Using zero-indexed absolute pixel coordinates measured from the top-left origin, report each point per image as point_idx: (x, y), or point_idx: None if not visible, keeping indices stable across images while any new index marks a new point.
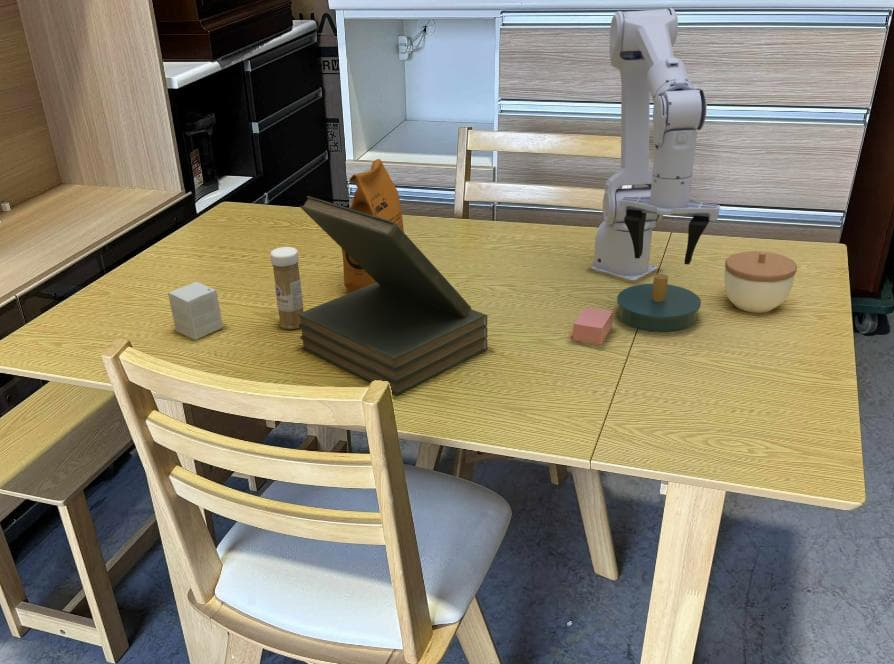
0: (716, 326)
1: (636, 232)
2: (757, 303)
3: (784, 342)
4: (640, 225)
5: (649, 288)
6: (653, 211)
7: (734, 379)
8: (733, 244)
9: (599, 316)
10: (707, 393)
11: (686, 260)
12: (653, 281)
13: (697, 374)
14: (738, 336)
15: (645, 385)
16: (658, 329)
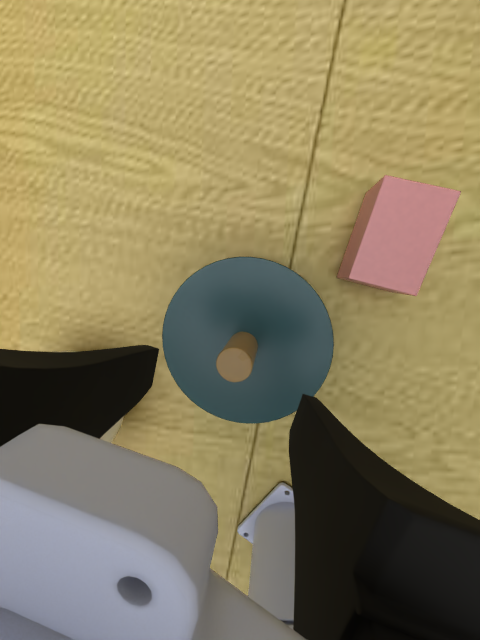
0: (152, 311)
1: (355, 456)
2: (74, 351)
3: (57, 260)
4: (340, 508)
5: (259, 399)
6: (260, 607)
7: (127, 99)
8: None
9: (385, 245)
10: (171, 23)
11: (146, 347)
12: (253, 359)
13: (186, 105)
14: (120, 275)
15: (283, 27)
16: None
